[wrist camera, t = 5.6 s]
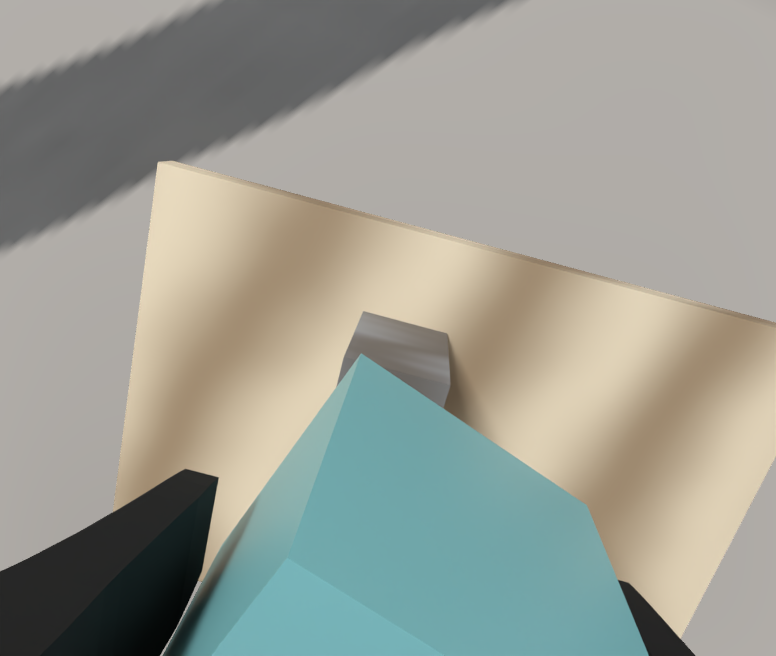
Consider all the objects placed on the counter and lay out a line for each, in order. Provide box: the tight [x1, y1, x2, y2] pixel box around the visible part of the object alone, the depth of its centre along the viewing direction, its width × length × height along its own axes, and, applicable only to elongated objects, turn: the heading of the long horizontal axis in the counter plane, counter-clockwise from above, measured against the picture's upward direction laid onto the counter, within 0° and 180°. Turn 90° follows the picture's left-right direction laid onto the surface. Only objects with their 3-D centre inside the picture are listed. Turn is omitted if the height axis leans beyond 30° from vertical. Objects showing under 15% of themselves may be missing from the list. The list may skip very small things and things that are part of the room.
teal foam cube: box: [163, 353, 649, 656], centre depth 9 cm, size 5×5×6 cm
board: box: [113, 161, 776, 639], centre depth 18 cm, size 20×14×5 cm
